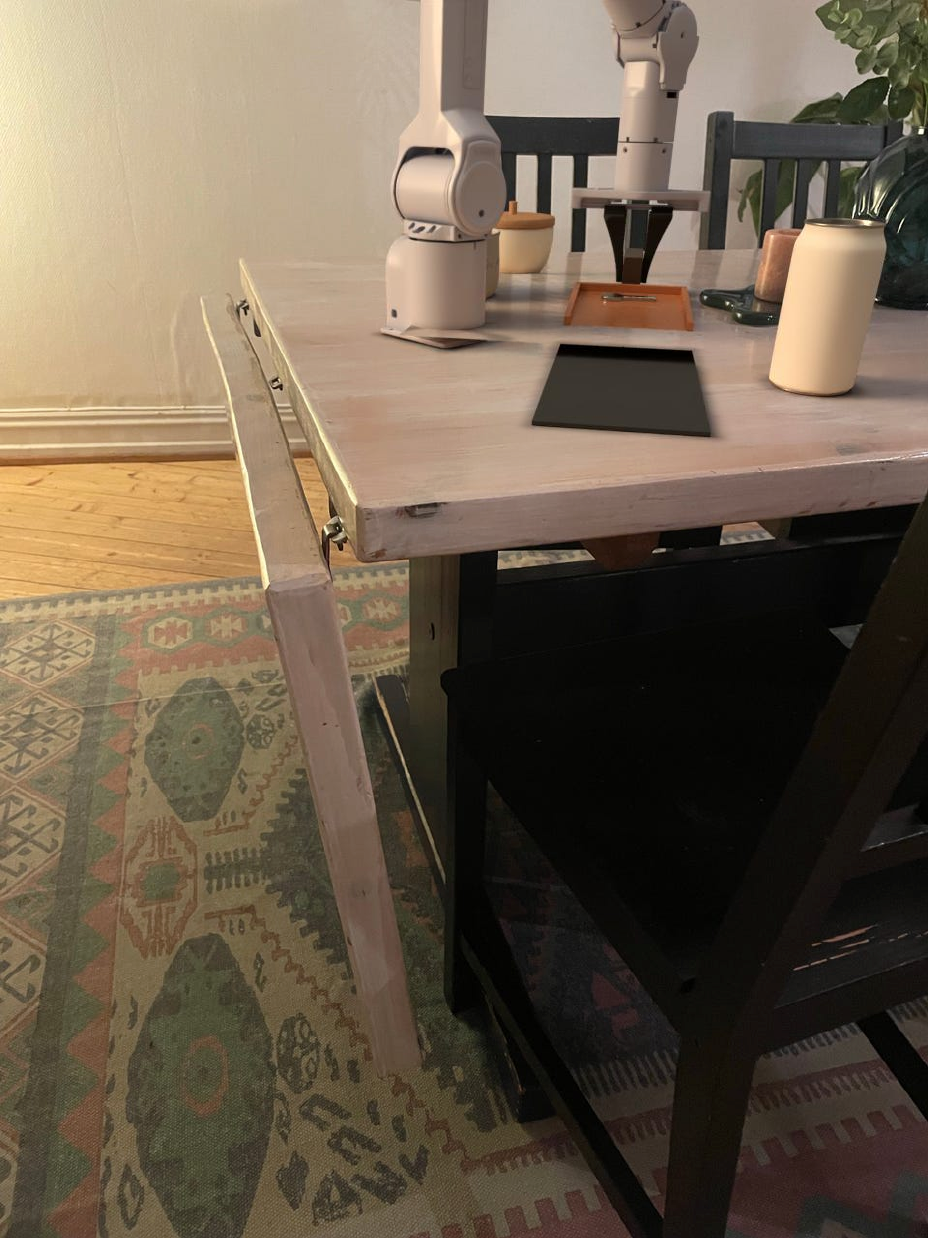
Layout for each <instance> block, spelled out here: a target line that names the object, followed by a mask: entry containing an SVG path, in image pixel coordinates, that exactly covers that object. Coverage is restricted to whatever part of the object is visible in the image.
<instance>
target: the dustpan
mask: <svg viewBox="0 0 928 1238" xmlns="http://www.w3.org/2000/svg"><path fill="white" fill-rule="evenodd" d="M643 257H644V248H639V247H638V248H637V247H624V259H623V275H622V282H621V283H620V282H591V281H575V283H574V286H573V289H572V292H571V295H570V297H569V300H568V304H567V306H566V308H565V312H564V315H563V326H575V327H595V328H596V327H597V328H617V329H635V330H659V331H660V330H661V331H676V332H677V331H678V332H680V331H681V332H693V331H694V325H695V319H694V316H693V311H692V305H691V301H690V300H691V299H690V295H689V290H688V286H687V285H668V284H666V285H665V284H664V285H663V284H644V283H640V281H641V272H642V263H643ZM604 293H618V294H622V295H636V296H657V302H645V301H618V302H610V301H604V300H601V295H602V294H604Z"/></svg>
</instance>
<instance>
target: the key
mask: <svg viewBox="0 0 928 1238" xmlns="http://www.w3.org/2000/svg"><path fill="white" fill-rule="evenodd" d="M601 300H604V301H610V302H618V301H645V302H657V296H636V295H622V294H618V293H604V294H602V295H601Z"/></svg>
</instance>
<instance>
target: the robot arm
mask: <svg viewBox="0 0 928 1238" xmlns="http://www.w3.org/2000/svg"><path fill="white" fill-rule="evenodd" d="M601 2H602V4H603V6H604V8H605V10H606V12H607V14H608V16H609V17H610V21H609V23H610V29H611V32H612V44H613V45H612V46H613V48H612V49H613V55H614V59H615V61H616V62H617V63H618V64H619V66H620V67H621V68H622V69H623V81H622V91H621V92H622V93H621V105H620V113H619V114H620V115H619V116H620V117H619V124H618V125H619V127H618V136H617V137H618V139H617V149H616V159H615V168H614V169H615V170H614V182H613V187H572V188H571V197H570V198H571V200H570V209H573V210H574V209H575V210H576V209H578V210H579V209H580V210H581V209H599V210H600V209H603V221H604V223H605V226H606V229H607V233H608V236H609V240H610V243H611V248H612V252H613V253H612V254H613V258H614V266H615V283H622V275H623V264H624V255H625V239H626V238H625V237H626V229H627V220H628V219H627V217H628V210H638V211H639V210H640V211H645V210H646V211H648V215H647V216H648V217H647V225H646V226H647V228H646V236H645V246H644V251H643V263H642V272H641V281H640V284H647V281H648V277H649V272H650V268H651V265H652V262H653V260H654V257H655V254H656V253H657V250H658V247H659V245H660V243H661V241H662V239H663V237H664V236H665V234H666V232H667V229H668V228H669V226H670V224H671V222H672V220H673V218H674V211H675V212H698V213H709V210H710V209H709V208H710V202H711V196H712V192H711V191H710V190H690V189H672V188H671V189H669V183H670V175H671V168H672V157H673V150H674V141H675V135H676V134H675V133H676V125H677V117H678V110H679V109H678V108H679V100H680V92H681V91H683V89H685V88H684V86H685V85H687V77H688V70H689V69H690V68H689V67H690V65H691V63H692V62H693V61H694V58H695V56H696V53H697V50H698V47H699V42H700V36H699V35H698V23H697V19H696V15H695V13H694V11H693V10H692V9H691V8H690V7H689V6H688V5H687V4H686V3H685V2H684V1H682V0H601ZM419 10H420V11H419V13H420V15H419V16H420V19H419V21H420V23H419V27H420V28H419V32H420V33H419V101H418V102H419V103H418V105H419V106H418V107H419V108H418V109H419V110H418V113H417V114H416V116H415V117H414V118H413V120H412V121H411V122H410V123H409V124H408V126H407V127H406V128H405V129H404V131H403V132H402V133H401V135H400V136H399V139H398V157H397V162H396V165H395V167H394V170H393V172H392V175H391V179H390V187H389V188H390V190H389V191H390V200H391V204H392V207H393V209H394V212H395V214H396V215H397V217H398V218H399V220H401V222H403V233H405V235H402V236H401V237H399V236H398V238H395V240H394V241H393V243H391V246H390V247H389V250H388V252H387V254H386V258H385V291H386V292H385V295H386V296H385V297H386V301H385V302H386V326H381V327H380V333H381V334H386V335H389V336H392V337H397V338H401V339H405V340H409V341H412V342H417V343H419V344H420V343H421V344H425V345H428V346H432V347H436V348H440V349H451V348H455V347H460V346H466V345H470V344H476V343H481V342H485V341H487V339H482V338H481V339H480V338H463V337H462V338H461V337H460V338H459V337H445V336H444V337H443V336H424V335H423V336H422V335H404V334H403V333H405V331H406V330H407V329H408V328H409V327H411V326H414V327H417V328H422V329H428V330H438V331H459V330H470V329H476V328H479V327H482V326H484V325H485V323H486V298H485V294H486V252H487V239H490V238H492V229H493V228H495V226H496V225H497V224H498V222H499V220H500V219H501V217H502V214H503V212H505V208H506V203H507V183H506V178H505V175H504V172H503V168H502V162H501V151H502V150H501V149H502V142H501V140H500V138H499V136H498V134H497V133H496V131H495V129H494V128H493V127H492V125H491V124H490V122H488V120H487V118H486V116H485V113H484V112H485V93H486V92H485V91H486V90H485V89H486V67H487V46H488V45H487V44H488V43H487V42H488V19H489V0H420V9H419ZM448 150H449V151H450V152H451V154H445V153H446V152H447V151H448ZM624 200H625V201H626V200H627V201H656V204H651V203H650V204H647V203H623V201H624ZM402 334H403V335H402Z"/></svg>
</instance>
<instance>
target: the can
mask: <svg viewBox="0 0 928 1238" xmlns="http://www.w3.org/2000/svg"><path fill="white" fill-rule="evenodd" d="M803 222H804V226H803V228H802V230H801V231H800V233H799V235H798V236H797V238H796V239H795V241H794V244H793V248H792V252H791V258H790V263H789V268H788V272H787V273H788V275H787V279H786V284H785V289H784V294H783V300H782V305H781V310H780V315H779V319H778V320H779V321H778V325H777V331H776V335H775V342H774V347H773V352H772V357H771V363H770V369H769V375H768V378H769V380H770V381H771V384H772V386H774V387H776V388H777V389H780V390H783V391H785V392H790V393H794V394H799V395H807V396H816V397H818V396H819V397H827V396H828V397H832V396H840V395H844V394H847V393H848V392H849V390H850V389H852V388H854V386H855V383H856V378H857V375H858V371H859V366H860V363H861V359H862V354H863V350H864V347H865V342H866V337H867V334H868V330H869V325H870V322H871V318H872V313H873V310H874V306H875V305H874V304H875V301H876V298H877V297H876V296H877V292H878V287H879V283H880V279H881V276H882V271H883V266H884V264H885V263H884V262H885V258H886V254H887V242H886V237H885V228H886V226H887V224H886V223H885V222H882V221H877V220H869V219H859V218H858V219H857V218H841V217H840V218H839V217H836V218H835V217H815V218H805V219H804V221H803Z"/></svg>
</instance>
